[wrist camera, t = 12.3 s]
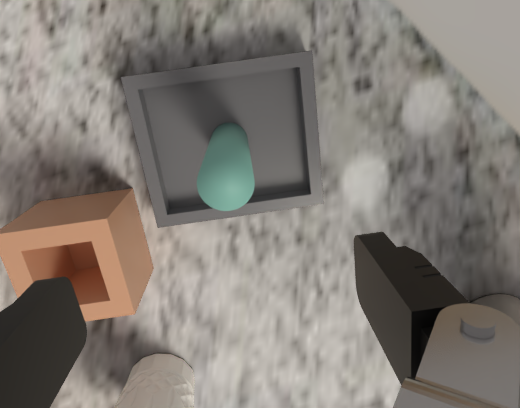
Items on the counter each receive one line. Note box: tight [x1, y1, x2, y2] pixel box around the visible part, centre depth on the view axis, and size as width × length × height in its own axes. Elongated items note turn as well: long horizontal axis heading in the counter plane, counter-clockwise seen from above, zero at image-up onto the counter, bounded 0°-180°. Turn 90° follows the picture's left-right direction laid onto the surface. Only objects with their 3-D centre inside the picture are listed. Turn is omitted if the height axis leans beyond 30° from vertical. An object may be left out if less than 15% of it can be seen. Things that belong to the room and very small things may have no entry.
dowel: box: [197, 123, 255, 211], centre depth 25 cm, size 3×3×12 cm
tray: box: [121, 51, 324, 228], centre depth 31 cm, size 14×12×2 cm
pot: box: [0, 188, 154, 321], centre depth 31 cm, size 8×8×7 cm
